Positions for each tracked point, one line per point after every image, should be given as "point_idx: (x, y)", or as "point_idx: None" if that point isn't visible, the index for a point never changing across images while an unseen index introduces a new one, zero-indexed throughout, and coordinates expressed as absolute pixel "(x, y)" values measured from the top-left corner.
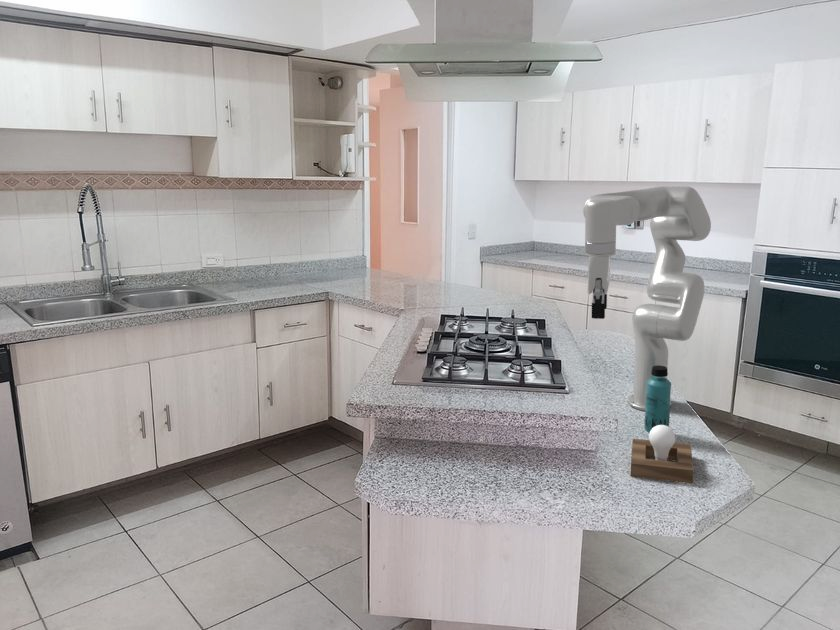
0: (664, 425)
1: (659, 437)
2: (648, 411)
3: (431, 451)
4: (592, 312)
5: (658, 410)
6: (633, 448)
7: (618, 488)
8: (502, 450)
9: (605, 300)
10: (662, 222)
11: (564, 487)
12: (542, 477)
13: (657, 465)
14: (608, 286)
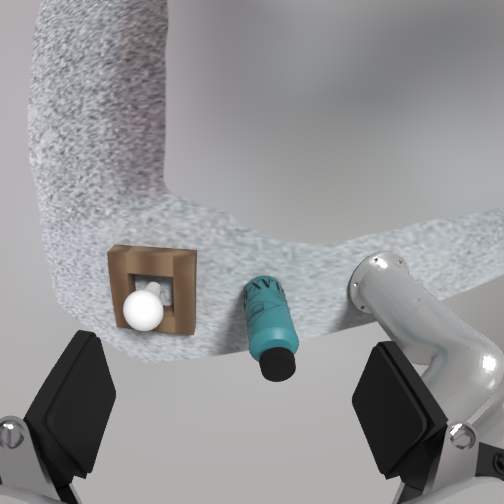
0: (142, 324)
1: (123, 309)
2: (253, 298)
3: None
4: (64, 360)
5: (246, 316)
6: (156, 258)
7: (81, 228)
8: (164, 41)
9: (370, 442)
10: None
11: (67, 156)
12: (85, 120)
13: (112, 287)
14: None
